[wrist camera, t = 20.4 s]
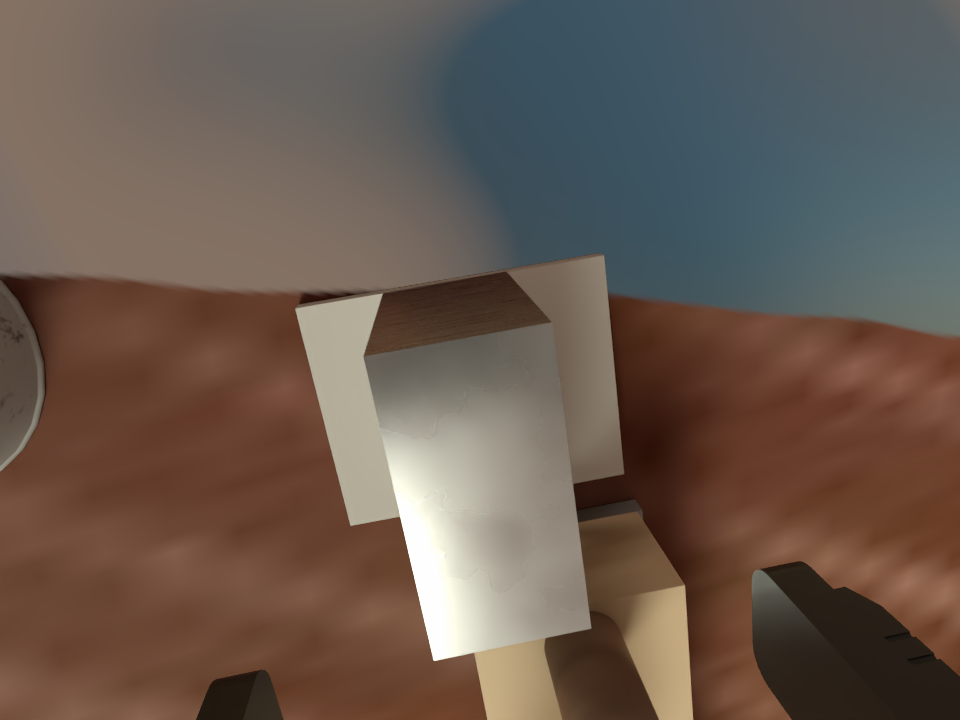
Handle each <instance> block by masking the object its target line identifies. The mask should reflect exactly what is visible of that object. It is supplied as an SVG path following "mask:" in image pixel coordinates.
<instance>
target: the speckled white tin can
mask: <svg viewBox="0 0 960 720" xmlns="http://www.w3.org/2000/svg"><path fill="white" fill-rule="evenodd" d="M44 397H45V374H44V361H43V358H42V354H41V351H40V347H39V344H38V340H37V337H36V333H35V331H34V329H33V327H32V325H31V323H30V321H29V319H28V318H27V316H26V314H25V312H24V310H23V308H22V307H21V305H20V303H19V301H18V299H17V298H16V297H15V296H14V295H13V293H12V292H11V291H10V290H9V289H8V287H7V286H6V285H5V284H4V283H3V281H2V280H1V279H0V471H1V470H3V469H4V468H5V467H6V466H7V465H8V464H9V463H10V462H11V461H12V460H13V459H14V458H15V457H16V456H17V455H18V454H19V453H20V452H21V451H22V450H23V449H24V448H25V446H26V444H27V442H28V441H29V439H30V437H31V435H32V433H33V432H34V430H35V428H36V426H37V425H38V422H39V418H40V414H41V410H42V405H43V401H44Z"/></svg>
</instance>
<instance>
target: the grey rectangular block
mask: <svg viewBox="0 0 960 720" xmlns="http://www.w3.org/2000/svg"><path fill="white" fill-rule="evenodd" d="M363 357H364V362H365V366H366V370H367V375H368V379H369V383H370V388H371V392H372V396H373V401H374V405H375V409H376V413H377V418H378V422H379V426H380V431H381V435H382V439H383V444H384V448H385V452H386V457H387V461H388V465H389V470H390V474H391V478H392V483H393V487H394V491H395V495H396V500H397V504H398V508H399V513H400V517H401V521H402V526H403V530H404V534H405V539H406V543H407V547H408V552H409V556H410V560H411V564H412V569H413V573H414V577H415V582H416V586H417V590H418V595H419V599H420V603H421V608H422V612H423V616H424V621H425V625H426V629H427V633H428V638H429V642H430V646H431V651H432V655H433V659H434V661H436V660H441V659H446V658H450V657H455V656H460V655H465V654H470V653H475V652H480V651H485V650H489V649H494V648H499V647H504V646H509V645H514V644H519V643H524V642H528V641H533V640H538V639H543V638H548V637H553V636H558V635H563V634H567V633H572V632H577V631H582V630H587V629H591V621H590V613H589V606H588V598H587V590H586V582H585V574H584V567H583V559H582V551H581V543H580V536H579V528H578V520H577V512H576V504H575V497H574V489H573V481H572V473H571V465H570V458H569V450H568V442H567V434H566V426H565V419H564V411H563V403H562V395H561V387H560V380H559V372H558V364H557V356H556V348H555V341H554V333H553V325H552V322H551V320H550V319H549V318H548V317H547V316H546V315H545V314H544V313H543V312H542V310H541V309H540V308H539V307H538V306H537V305H536V304H535V303H534V302H533V300H532V299H531V298H530V297H529V296H528V295H527V294H526V293H525V292H524V290H523V289H522V288H521V287H520V286H519V285H518V284H517V283H516V282H515V280H514V279H513V278H512V277H511V276H510V275H509V274H508V273H507V272H501V273H495V274H489V275H484V276H478V277H473V278H467V279H461V280H456V281H450V282H444V283H439V284H433V285H427V286H422V287H416V288H411V289H405V290H399V291H394V292H388V293H383V295H382V298H381V301H380V304H379V308H378V311H377V314H376V317H375V320H374V324H373V327H372V330H371V333H370V337H369V340H368V343H367V346H366V350H365V353H364V356H363Z"/></svg>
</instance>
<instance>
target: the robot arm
mask: <svg viewBox="0 0 960 720" xmlns="http://www.w3.org/2000/svg"><path fill="white" fill-rule="evenodd" d="M752 633H753V650H754V654H755V658H756V661H757V664H758V667H759V669H760V672H761V674H762V676H763V678H764V680H765V682H766V684H767V685H768V687H769V688H770V690H771V691H772V692H773V694H774V695H775V697H776V698H777V699H778V701H779V702H780V704H781V705H782V706H783V708H784V709H785V711H786V712H787V713H788V715H789V716H790V718H791V719H792V720H960V676H959V675H957V674H956V673H955V672H954V671H953V670H952V669H951V668H950V667H949V666H947V665H946V664H945V663H944V662H943V661H942V660H941V659H938V660H937V659H936V658H935V656H934V653H933V652H932V651H931V650H930V649H929V648H927V647H926V646H925V645H924V644H923V643H922V642H921V641H920V640H919V639H917V638H916V637H912V636H911V635H910V631H909V630H907V629H906V628H905V627H904V626H903V625H902V624H901V623H900V622H899V621H897V620H896V619H895V618H894V617H893V616H892V615H891V614H890V613H889V612H887V611H886V610H885V609H884V608H883V607H882V606H880V605H879V604H877V603H875V602H873V601H871V600H869V599H867V598H865V597H863V596H861V595H860V594H858V593H856V592H854V591H852V590H850V589H848V588H846V587H842V588H837V589H833V588H832V587H831V586H830V585H828V584H827V583H826V582H825V581H824V580H823V579H822V578H821V577H820V576H819V575H818V574H817V573H816V572H815V571H814V570H813V569H812V568H811V567H810V566H808V565H807V564H806V563H804V562H801V561H798V562H793V563H788V564H783V565H778V566H773V567H768V568H763V569H759V570H756V571H755V572H754V573H753V575H752ZM196 720H283V716H282V713H281V710H280V707H279V704H278V701H277V698H276V694H275V691H274V688H273V685H272V682H271V679H270V676H269V674H268V673H267V672H266V671H265V670H259V671H254V672H249V673H244V674H239V675H234V676H230V677H225V678H220V679H216V680H214V681H213V682H212V683H211V685H210V687H209V689H208V691H207V693H206V696H205V699H204V701H203V704H202V706H201V709H200V711H199V714H198V716H197V719H196Z"/></svg>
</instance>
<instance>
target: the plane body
mask: <svg viewBox="0 0 960 720" xmlns="http://www.w3.org/2000/svg"><path fill="white" fill-rule="evenodd" d="M576 512H577V520H578V528H579V536H580V543H581V551H582V559H583V567H584V574H585V582H586V590H587V598H588V606H589V613H590V621H591V629H587V630H582V631H577V632H572V633H567V634H563V635H558V636H553V637H548V638H543V639H538V640H533V641H528V642H524V643H519V644H514V645H509V646H504V647H499V648H494V649H489V650H485V651H480V652H475V658H476V663H477V668H478V674H479V679H480V684H481V689H482V694H483V699H484V704H485V709H486V714H487V719H488V720H693V709H692V693H691V676H690V660H689V643H688V627H687V610H686V594H685V584H684V583H683V581H682V580H681V578H680V577H679V575H678V574H677V572H676V571H675V569H674V567H673V566H672V564H671V563H670V561H669V560H668V558H667V557H666V555H665V554H664V552H663V550H662V549H661V547H660V546H659V544H658V543H657V541H656V540H655V538H654V537H653V535H652V533H651V532H650V530H649V529H648V527H647V526H646V524H645V523H644V521H643V511H642V509H641V507H640V506H639V504H638V503H637V501H636V500H635V499H633V500H628V501H623V502H617V503H612V504H607V505H602V506H596V507H591V508H586V509H581V510H576Z"/></svg>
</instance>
